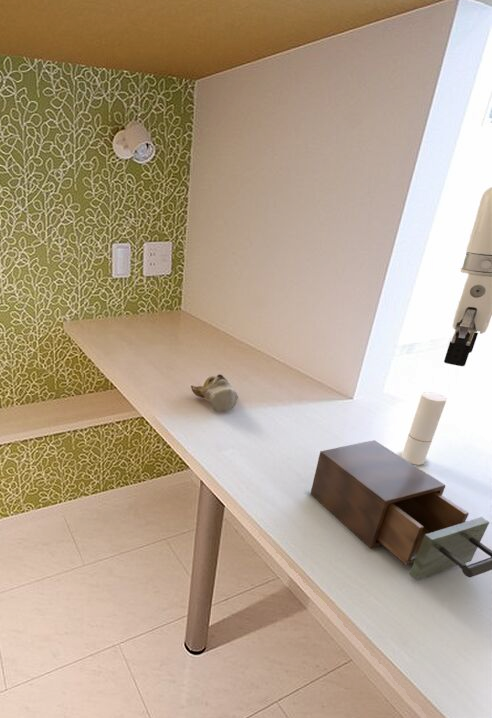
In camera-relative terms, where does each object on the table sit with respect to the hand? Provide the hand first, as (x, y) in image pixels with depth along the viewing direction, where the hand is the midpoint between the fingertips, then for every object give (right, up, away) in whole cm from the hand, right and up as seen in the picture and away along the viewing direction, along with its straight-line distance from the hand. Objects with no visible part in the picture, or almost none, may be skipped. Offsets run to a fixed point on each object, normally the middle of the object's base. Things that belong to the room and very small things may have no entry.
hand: (457, 357), depth 82 cm
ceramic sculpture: (-40, -10, +34) cm, 53 cm away
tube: (-1, -21, +11) cm, 24 cm away
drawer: (-16, -32, -14) cm, 38 cm away
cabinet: (-20, -28, -4) cm, 35 cm away
